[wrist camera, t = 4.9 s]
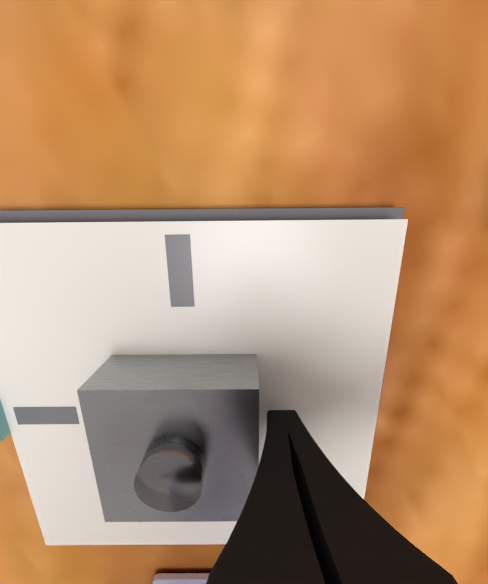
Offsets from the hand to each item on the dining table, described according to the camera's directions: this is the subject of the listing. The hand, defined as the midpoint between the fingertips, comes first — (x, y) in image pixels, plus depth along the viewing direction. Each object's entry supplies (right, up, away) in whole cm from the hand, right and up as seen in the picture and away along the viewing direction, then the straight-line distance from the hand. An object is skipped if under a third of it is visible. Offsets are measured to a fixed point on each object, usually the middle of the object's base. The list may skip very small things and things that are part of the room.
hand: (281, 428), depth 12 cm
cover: (-4, 0, +1) cm, 4 cm away
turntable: (-6, 0, +2) cm, 6 cm away
